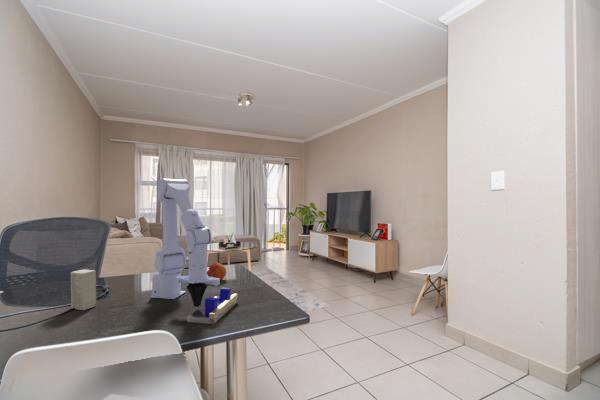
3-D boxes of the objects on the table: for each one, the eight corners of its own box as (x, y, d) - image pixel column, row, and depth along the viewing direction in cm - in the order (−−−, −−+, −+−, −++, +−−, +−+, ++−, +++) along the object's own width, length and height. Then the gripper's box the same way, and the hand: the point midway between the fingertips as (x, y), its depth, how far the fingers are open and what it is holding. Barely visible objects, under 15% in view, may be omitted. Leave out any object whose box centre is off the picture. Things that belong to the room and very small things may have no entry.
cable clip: (218, 304, 97) (218, 287, 97) (230, 305, 96) (230, 288, 96) (200, 318, 85) (200, 299, 85) (214, 319, 85) (214, 300, 85)
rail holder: (187, 321, 82) (187, 311, 82) (215, 300, 100) (215, 292, 100) (214, 324, 81) (214, 313, 81) (237, 302, 99) (237, 293, 99)
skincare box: (96, 306, 94) (97, 270, 94) (82, 311, 90) (83, 273, 90) (84, 303, 96) (84, 268, 96) (69, 308, 92) (70, 271, 92)
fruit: (209, 278, 129) (209, 260, 129) (227, 277, 130) (227, 260, 130) (205, 283, 121) (205, 264, 121) (224, 282, 122) (224, 264, 122)
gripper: (170, 266, 89) (169, 308, 89) (212, 268, 87) (212, 312, 87) (183, 261, 96) (182, 300, 96) (222, 263, 94) (222, 303, 94)
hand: (197, 305), depth 92 cm, fingers closed
